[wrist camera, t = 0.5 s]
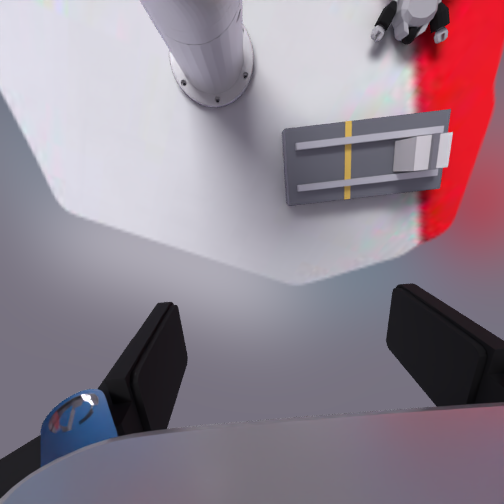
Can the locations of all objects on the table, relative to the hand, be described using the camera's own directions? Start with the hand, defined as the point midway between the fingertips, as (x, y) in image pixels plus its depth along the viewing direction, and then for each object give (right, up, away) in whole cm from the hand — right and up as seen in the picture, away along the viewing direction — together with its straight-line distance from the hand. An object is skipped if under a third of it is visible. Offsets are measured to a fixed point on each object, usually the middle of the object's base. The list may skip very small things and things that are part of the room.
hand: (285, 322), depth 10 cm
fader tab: (+24, +19, +28) cm, 42 cm away
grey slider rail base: (+17, +19, +31) cm, 40 cm away
